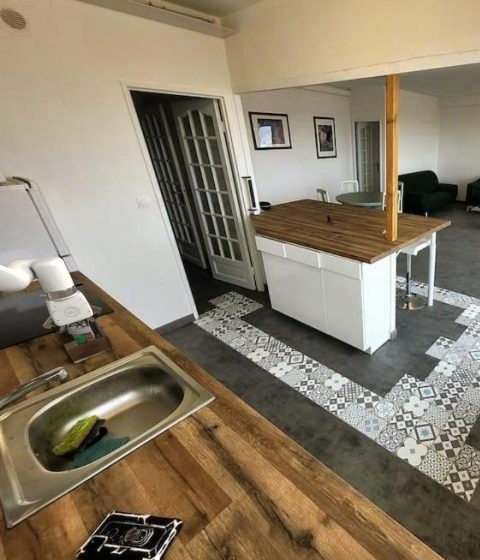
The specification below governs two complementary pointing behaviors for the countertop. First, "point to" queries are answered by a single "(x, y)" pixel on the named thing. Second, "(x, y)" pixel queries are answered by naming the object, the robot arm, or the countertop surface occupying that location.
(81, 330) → the food container
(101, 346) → the open brown box
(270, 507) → the countertop surface
